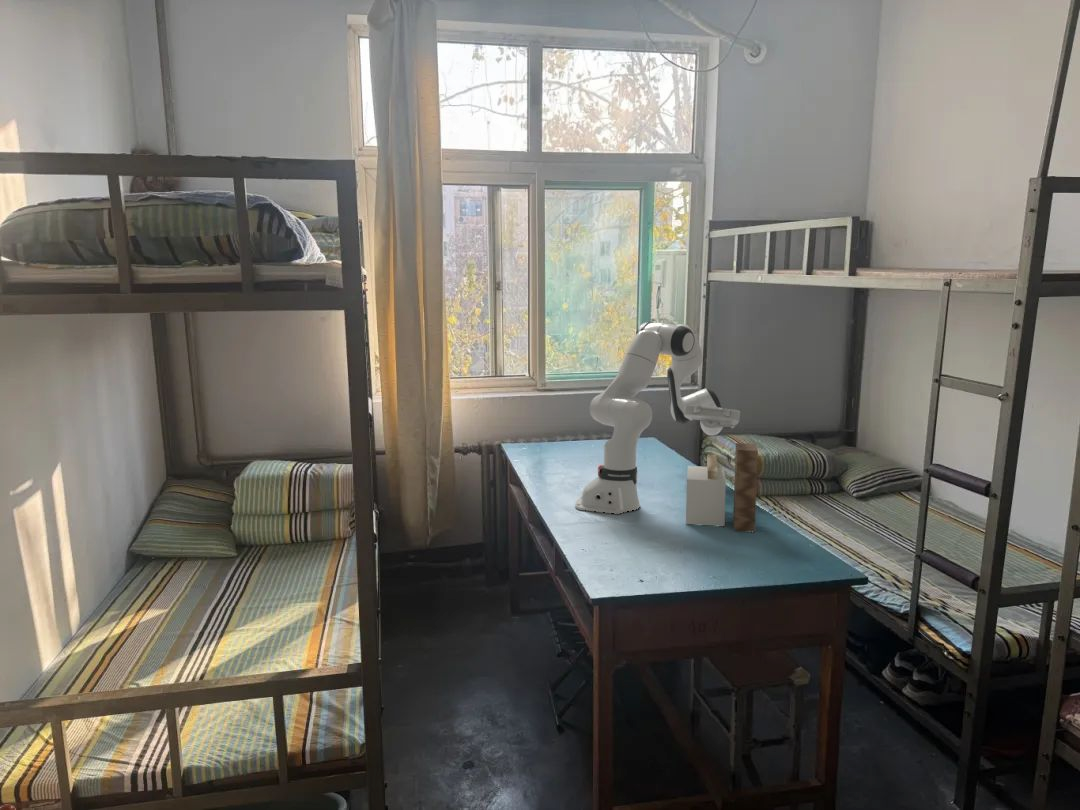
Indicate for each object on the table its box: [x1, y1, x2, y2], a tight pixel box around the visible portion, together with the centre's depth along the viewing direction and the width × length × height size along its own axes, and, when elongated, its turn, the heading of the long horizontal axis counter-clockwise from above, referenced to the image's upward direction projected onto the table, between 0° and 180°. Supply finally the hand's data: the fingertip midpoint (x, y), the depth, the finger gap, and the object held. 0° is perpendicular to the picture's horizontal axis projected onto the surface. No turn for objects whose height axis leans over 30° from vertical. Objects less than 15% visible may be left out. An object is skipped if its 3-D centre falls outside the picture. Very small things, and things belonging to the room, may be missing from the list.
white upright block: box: [685, 465, 727, 527], centre depth 240 cm, size 12×18×15 cm, turn 168°
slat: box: [706, 453, 718, 479], centre depth 243 cm, size 3×24×2 cm, turn 168°
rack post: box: [732, 442, 759, 533], centre depth 229 cm, size 6×10×26 cm, turn 168°
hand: (711, 409), depth 261 cm, fingers open, 8 cm apart
